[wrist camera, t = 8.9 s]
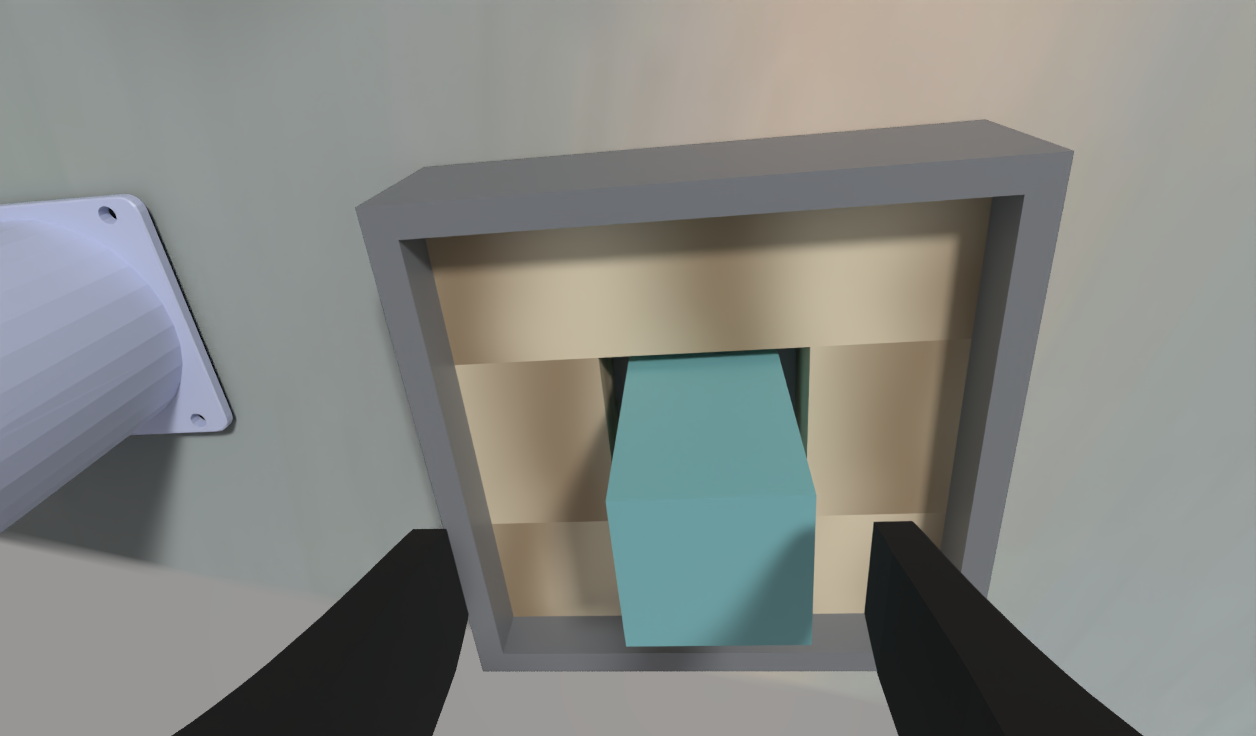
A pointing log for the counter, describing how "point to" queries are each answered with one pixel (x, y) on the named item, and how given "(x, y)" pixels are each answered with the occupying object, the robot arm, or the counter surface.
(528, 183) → the box
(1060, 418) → the counter surface
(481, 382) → the beige frame
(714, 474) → the peg
